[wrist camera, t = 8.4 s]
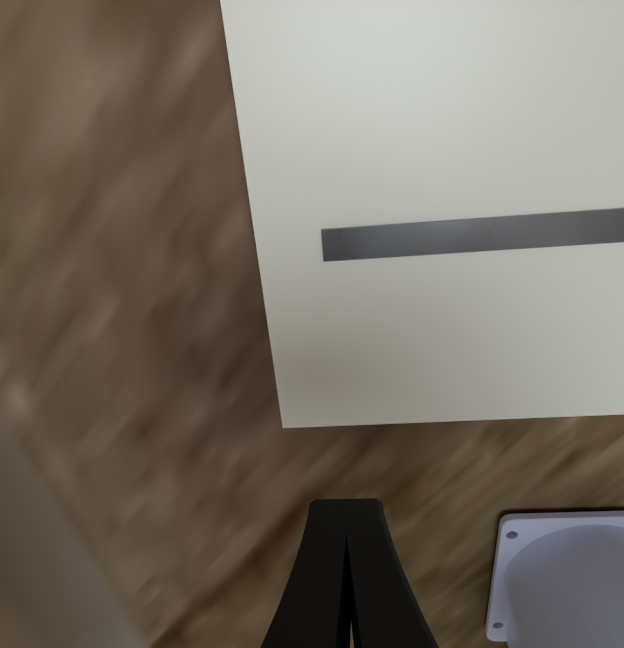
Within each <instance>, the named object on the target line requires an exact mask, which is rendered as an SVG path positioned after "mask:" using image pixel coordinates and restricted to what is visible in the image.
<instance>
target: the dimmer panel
mask: <svg viewBox="0 0 624 648" xmlns="http://www.w3.org/2000/svg"><path fill="white" fill-rule="evenodd" d="M220 2H221V9H222V16H223V23H224V30H225V37H226V43H227V50H228V57H229V64H230V71H231V78H232V84H233V91H234V98H235V105H236V112H237V119H238V125H239V132H240V139H241V146H242V153H243V160H244V166H245V173H246V180H247V187H248V194H249V201H250V207H251V214H252V221H253V228H254V235H255V242H256V249H257V255H258V262H259V269H260V276H261V283H262V290H263V296H264V303H265V310H266V317H267V324H268V331H269V337H270V344H271V351H272V358H273V365H274V372H275V378H276V385H277V392H278V399H279V406H280V413H281V419H282V426H283V428H299V427H323V426H348V425H372V424H397V423H422V422H446V421H471V420H496V419H520V418H545V417H570V416H594V415H619V414H624V0H220Z"/></svg>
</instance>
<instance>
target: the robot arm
mask: <svg viewBox="0 0 624 648" xmlns="http://www.w3.org/2000/svg"><path fill="white" fill-rule="evenodd" d="M351 623H352V632H353V641H354V648H439V647H438V645H437V643H436V641H435V639H434V637H433V635H432V633H431V631H430V629H429V627H428V625H427V623H426V621H425V619H424V617H423V614H422V612H421V610H420V608H419V606H418V603H417V601H416V599H415V597H414V594H413V592H412V590H411V587H410V585H409V583H408V581H407V578H406V576H405V574H404V571H403V569H402V566H401V564H400V561H399V558H398V556H397V553H396V550H395V547H394V545H393V542H392V539H391V536H390V533H389V530H388V526H387V523H386V519H385V515H384V511H383V506H382V502H380V501H379V500H378V499H376V498H371V499H323V500H314V501H313V502H312V503H310V507H309V513H308V518H307V522H306V526H305V530H304V534H303V538H302V541H301V545H300V548H299V551H298V554H297V557H296V560H295V563H294V566H293V569H292V572H291V574H290V577H289V580H288V582H287V585H286V588H285V590H284V593H283V596H282V598H281V601H280V604H279V606H278V609H277V611H276V614H275V616H274V618H273V620H272V623H271V625H270V627H269V630H268V632H267V634H266V636H265V639H264V641H263V643H262V646H261V648H350V630H351ZM485 632H486V636H487V638H488V639H489V640H491V641H507V645H508V648H624V511H593V512H556V513H519V514H507V515H505V516H503V517H502V518H501V520H500V523H499V530H498V537H497V545H496V552H495V560H494V567H493V574H492V582H491V589H490V597H489V604H488V611H487V619H486V626H485Z"/></svg>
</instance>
